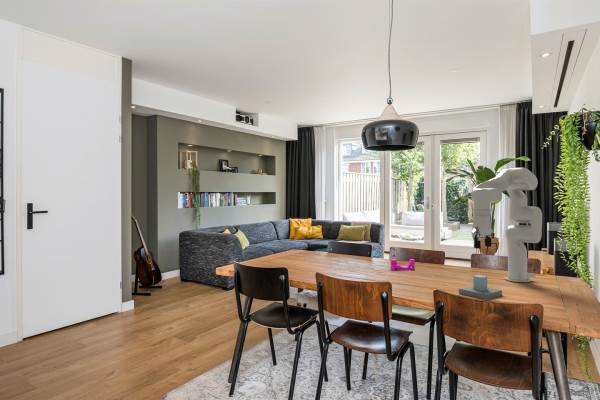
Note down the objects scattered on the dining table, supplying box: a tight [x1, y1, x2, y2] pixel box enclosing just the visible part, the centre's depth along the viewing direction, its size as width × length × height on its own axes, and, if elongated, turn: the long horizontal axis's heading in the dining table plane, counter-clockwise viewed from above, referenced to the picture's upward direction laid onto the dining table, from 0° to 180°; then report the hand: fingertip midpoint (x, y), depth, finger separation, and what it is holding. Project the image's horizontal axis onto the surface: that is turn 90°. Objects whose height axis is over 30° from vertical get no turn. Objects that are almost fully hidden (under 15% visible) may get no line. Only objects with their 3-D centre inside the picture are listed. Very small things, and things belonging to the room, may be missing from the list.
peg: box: [472, 274, 488, 291], centre depth 183 cm, size 4×4×9 cm
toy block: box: [390, 258, 416, 271], centre depth 247 cm, size 15×6×8 cm, turn 91°
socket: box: [458, 285, 503, 300], centre depth 183 cm, size 14×14×2 cm
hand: (482, 247), depth 186 cm, fingers open, 9 cm apart
